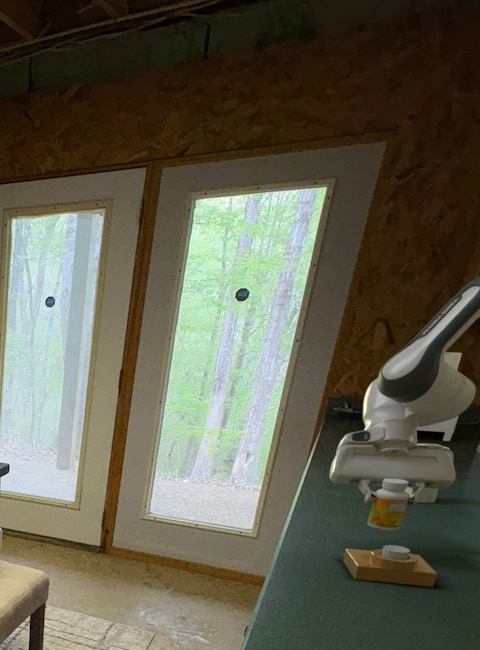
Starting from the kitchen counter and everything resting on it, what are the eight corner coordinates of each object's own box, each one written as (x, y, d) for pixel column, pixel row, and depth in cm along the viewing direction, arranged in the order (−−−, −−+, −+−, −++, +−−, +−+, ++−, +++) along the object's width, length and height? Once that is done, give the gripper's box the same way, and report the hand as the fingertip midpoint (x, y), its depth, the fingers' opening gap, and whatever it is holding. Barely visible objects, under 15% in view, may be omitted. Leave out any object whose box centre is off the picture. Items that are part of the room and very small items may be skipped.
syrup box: (435, 503, 162) (452, 447, 157) (410, 502, 163) (425, 447, 158) (422, 497, 167) (437, 443, 162) (397, 496, 168) (411, 443, 163)
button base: (414, 569, 123) (421, 546, 122) (433, 590, 115) (441, 565, 113) (342, 563, 128) (347, 540, 126) (354, 582, 119) (360, 557, 117)
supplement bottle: (361, 522, 131) (373, 477, 128) (390, 522, 130) (403, 477, 126) (374, 530, 126) (387, 483, 123) (405, 531, 125) (419, 484, 122)
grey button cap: (403, 554, 119) (406, 546, 118) (410, 562, 116) (413, 553, 115) (378, 552, 121) (380, 544, 120) (384, 559, 117) (386, 551, 117)
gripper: (445, 455, 129) (448, 514, 124) (327, 450, 137) (326, 505, 132) (460, 437, 124) (464, 498, 119) (336, 434, 131) (336, 490, 127)
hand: (390, 502), depth 126 cm, fingers closed on supplement bottle, 5 cm apart
